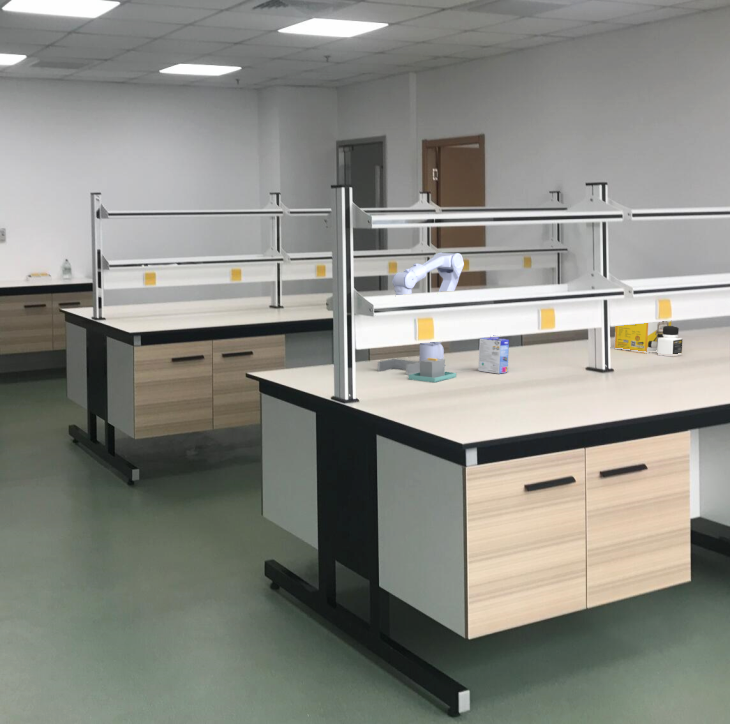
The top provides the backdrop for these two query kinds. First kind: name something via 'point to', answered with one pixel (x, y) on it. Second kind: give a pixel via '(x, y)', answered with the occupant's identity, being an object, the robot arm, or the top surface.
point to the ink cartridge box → (493, 355)
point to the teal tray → (428, 379)
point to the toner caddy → (432, 367)
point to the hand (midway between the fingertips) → (402, 343)
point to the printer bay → (400, 365)
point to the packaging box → (640, 336)
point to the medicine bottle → (670, 341)
